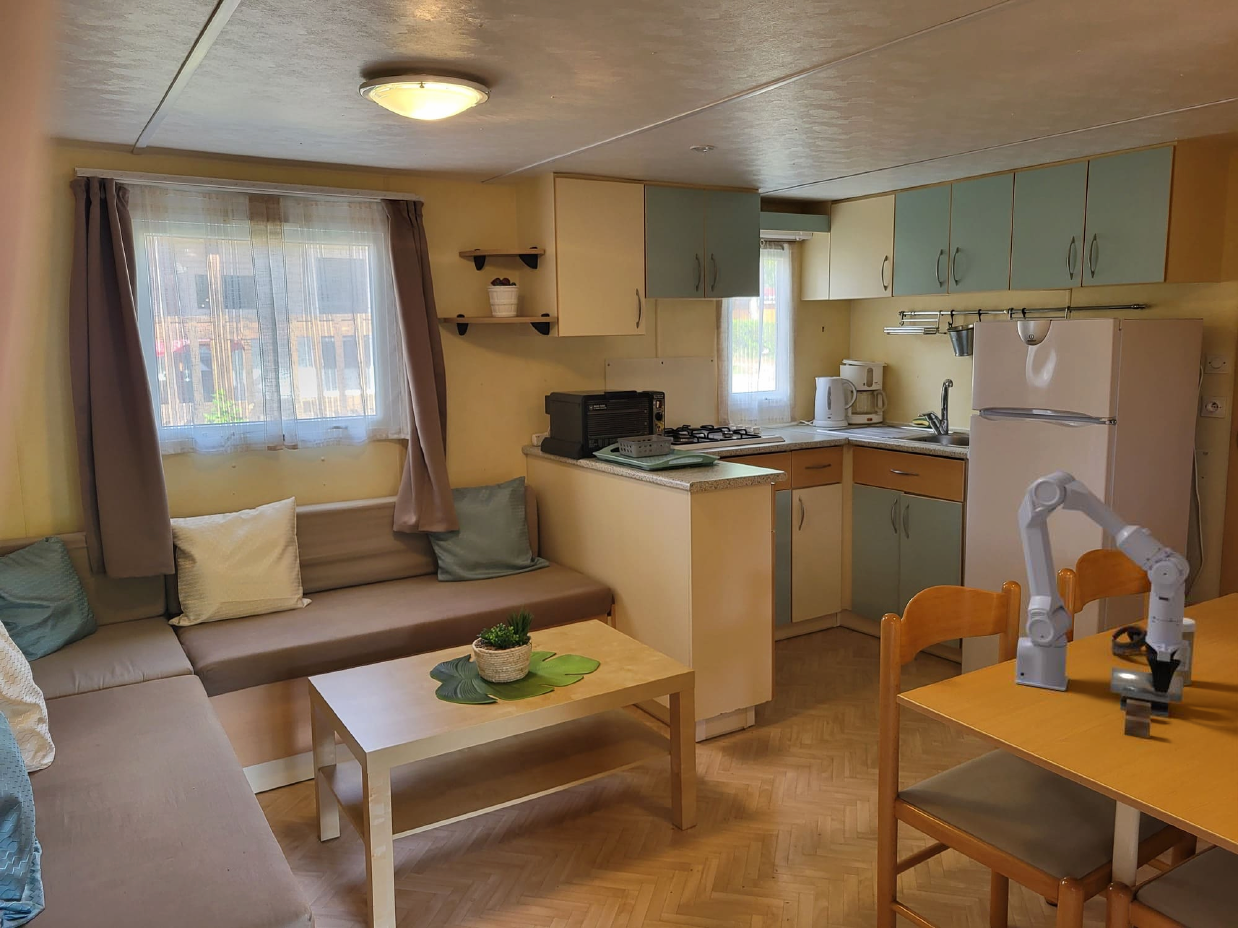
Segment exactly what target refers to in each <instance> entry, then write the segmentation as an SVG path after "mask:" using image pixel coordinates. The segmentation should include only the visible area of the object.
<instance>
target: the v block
mask: <svg viewBox="0 0 1238 928" xmlns="http://www.w3.org/2000/svg"><path fill="white" fill-rule="evenodd" d="M1120 694H1121V695H1120V710H1122V711H1126V704H1127V699H1129V700H1135V701H1141V702H1147V703H1151V712H1150V716H1151V715H1152V716H1157V717H1163V718H1169V706H1170V701H1169V697H1167V696H1161V695H1154V694H1148V693H1142V692H1135V691H1129V690H1123V689H1122V692H1121V693H1120Z"/></svg>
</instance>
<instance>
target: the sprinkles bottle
mask: <svg viewBox="0 0 1238 928" xmlns="http://www.w3.org/2000/svg"><path fill="white" fill-rule="evenodd" d="M1196 628H1197V622H1196V621H1195V620H1194V619H1192V618H1188V617H1183V628H1182V640H1187V641H1188V643H1189V644H1188V647H1183V646H1182V647H1180V648H1179V649H1178V651H1177V652H1176V654H1175V656H1174V658H1173V659H1179V660H1181V663H1180V665H1179V667H1178V668H1177V669H1176V671H1175V672H1174V674H1173V676H1176V677H1182V678H1183V687H1185V686H1190V685H1191V684H1192V682H1193V681H1192V675H1193V673H1192V670H1193V665H1194V663H1193V662H1194V642H1195V632H1196Z"/></svg>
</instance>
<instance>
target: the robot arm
mask: <svg viewBox="0 0 1238 928" xmlns="http://www.w3.org/2000/svg"><path fill="white" fill-rule="evenodd" d="M1059 506H1062V507H1061V509H1062V510H1069V511H1076V512H1077V511H1078V512H1082V513H1083V514H1084V515H1086V517H1088V518H1089V519H1091V520H1092V521H1093V522H1094V523H1096V524H1097V525H1098V526H1100V527H1101V528H1102V529H1104V530H1105V531H1106V532H1107V533H1109V534H1110V535H1112V536H1113V538H1114V539H1115V545H1116V548H1117V549H1118V550H1120V551H1121V553H1123V554H1124V555H1125V556H1126V557H1128V558H1129V559H1130V560H1131V561H1133V562H1134V563H1135V564H1136V565H1138V567H1140V568H1141V569H1142V570H1144V571H1147V578H1148V580H1149V582H1151V587H1150V588H1151V589H1150V592H1149V605H1148V618H1147V630H1146V631H1147V636H1146V642H1147V645H1148V647H1149V649H1150V652H1151V654H1148V653H1146V652H1145V659H1146V661H1147V663H1148V665H1149V667H1150V671H1151V672H1150V673H1152V679H1153V686H1154V690H1155V691H1156V692H1162V693H1167V692H1168V690H1169V687H1170V683H1171V680H1172V677H1173V674H1174V672H1175V671H1176V669H1177V668H1178V667H1179V665H1180V663H1181V660H1179V659H1173V658H1174V656H1175V654H1176V652H1177V651H1178V649H1179V648H1180V647H1182V646H1183V647H1188V644H1189V643H1188V641H1187V640H1182V628H1183V618H1184V612H1185V599H1186V596H1185V591H1186V582H1185V580H1186V579H1187V577H1188V576H1189V574H1190V569H1191V567H1190V565H1189V562H1188V561H1187V559H1186V558H1185V557H1184V555H1183V554H1181V553H1179V552H1175V551H1173V549H1172V548H1170V547H1165V545H1164V544H1162V543H1161V542H1160V541H1158V540H1157V539H1156V538H1154V537H1153V536H1152V535H1151V534H1152V531H1151V530H1150V529H1149V528H1148V527H1145V528H1142V526H1140V525H1129V524H1128V523H1126V522H1125V521H1124V520H1123V518H1121V517H1120V516H1119V515H1118V514H1117V513H1116V512H1114V511H1113V510H1112V509H1111V508H1110V507H1109V506H1108V505H1107V504H1106V503H1105V502H1104V501H1102V500H1101V499H1100V498H1099V497H1098V496H1097V495H1096V494H1094V492H1092V490H1091V489H1089V487H1087V485H1086V484H1085V483H1084V482H1082V481H1081V480H1079V479H1076V477H1074V476H1073V474H1071V473H1069V472H1067V471H1064V470H1056V471H1054V472H1052V473H1050V474H1048V475H1046V476H1042V477H1040V478H1038V479H1036V480H1035V481H1034V482H1033V483H1031V485H1030V486H1028V487H1027V488H1026V494H1025V496H1024V499H1023V500H1022V503H1021V505H1020V507H1019V510H1018V512H1017V518H1018V524H1019V525H1018V526H1019V531H1020V537H1021V543H1022V548H1023V549H1022V550H1023V555H1024V560H1025V567H1026V574H1027V579H1028V585H1029V592H1030V601H1029V604H1028V608H1027V613H1028V618H1027V622H1026V625H1025V631H1026V634H1027V637H1019V639H1018V641H1017V650H1016V662H1015V680H1014V682H1015V683H1016V684H1020V685H1027V686H1030V687H1031V686H1032V687H1037V688H1038V687H1039V688H1043V689H1050V690H1056V691H1062V692H1064V691H1065V692H1066V690H1067V686H1068V682H1069V676H1068V675H1066V671H1067V669H1066V667H1067V654H1068V652H1067V651H1068V639H1067V637H1066V632H1068V631H1069V630H1070V629H1071V627H1072V616H1071V614H1070V613H1069V611H1068V610H1067V608H1066V606H1065V603H1064V601H1065V600H1064V599H1063V597H1062V596H1061V595H1060V594H1059V589H1058V585H1057V584H1058V583H1057V578H1056V571H1055V570H1056V569H1055V563H1054V559H1053V558H1054V557H1053V552H1052V547H1051V541H1050V535H1049V527H1048V521H1047V519H1048V518H1049V517H1050V516H1051V515H1052V513H1054V511H1055V510H1056V509H1057V508H1058V507H1059Z"/></svg>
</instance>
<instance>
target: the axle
mask: <svg viewBox="0 0 1238 928" xmlns="http://www.w3.org/2000/svg"><path fill="white" fill-rule="evenodd" d="M1110 675H1111V677H1110V678H1111V680H1110V693H1118V694H1121V692H1122V689H1123V690H1129V691H1135V692H1142V693H1148V694H1154V695H1161V696H1167V697H1169V702H1173V703H1174V702H1175V703H1179V704H1182V702H1183V691H1184V686H1183V678H1182V677H1176V676H1173V677H1172V680H1171V683H1170V687H1169V690H1168V692H1167V693H1162V692H1156V691H1155V690H1154V686H1153V679H1152V672H1148V671H1140V670H1134V669H1129V668H1120V667H1114V666H1111V674H1110Z"/></svg>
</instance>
